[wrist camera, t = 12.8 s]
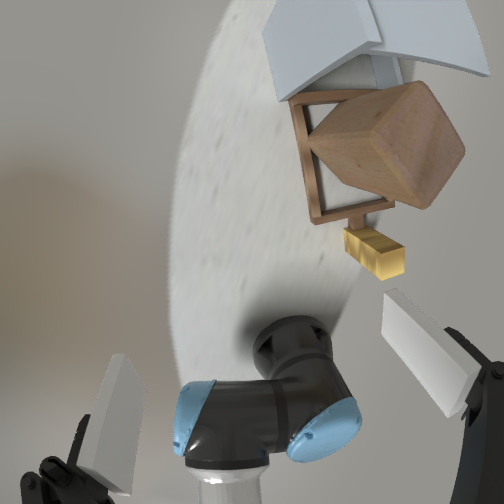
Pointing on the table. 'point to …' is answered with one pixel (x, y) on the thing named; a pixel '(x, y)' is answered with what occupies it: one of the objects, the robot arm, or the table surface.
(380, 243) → the pull yoke
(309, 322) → the robot arm
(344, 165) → the wooden block
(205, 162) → the table surface
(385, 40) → the shelf
